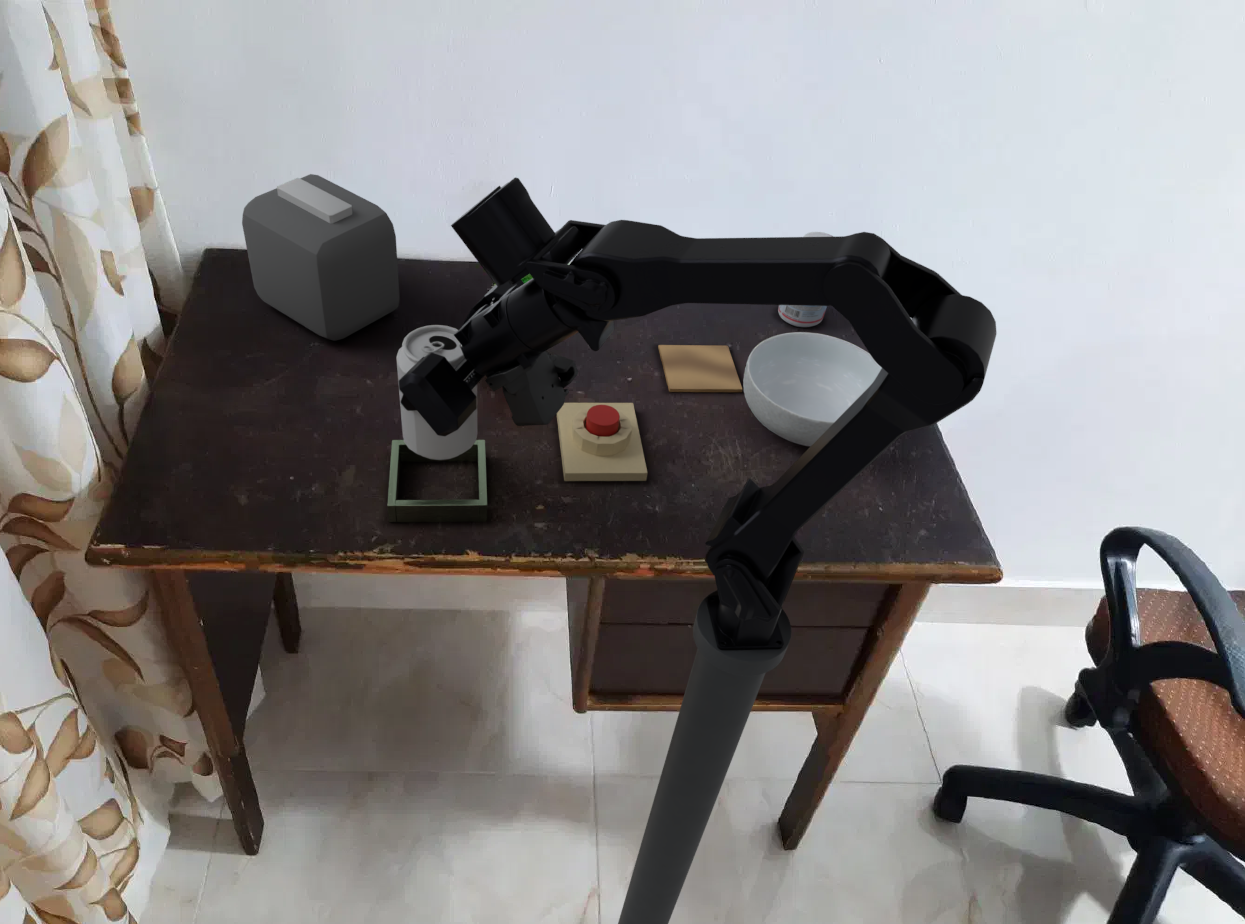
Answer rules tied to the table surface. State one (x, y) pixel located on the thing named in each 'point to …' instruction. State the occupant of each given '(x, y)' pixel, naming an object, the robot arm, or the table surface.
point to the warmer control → (600, 446)
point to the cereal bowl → (805, 383)
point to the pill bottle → (802, 313)
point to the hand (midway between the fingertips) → (425, 384)
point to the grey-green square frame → (436, 508)
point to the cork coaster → (699, 368)
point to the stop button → (602, 420)
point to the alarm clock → (322, 256)
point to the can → (413, 423)
